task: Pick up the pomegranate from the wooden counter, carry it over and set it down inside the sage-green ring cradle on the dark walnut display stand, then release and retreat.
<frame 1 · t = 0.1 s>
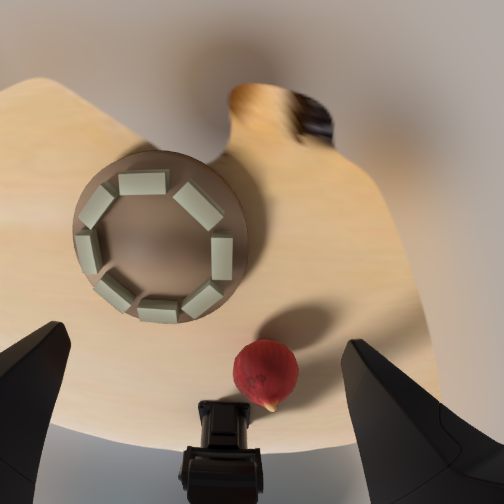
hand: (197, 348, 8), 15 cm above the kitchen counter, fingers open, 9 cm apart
pomegranate: (262, 342, 27), on the kitchen counter
display stand: (159, 238, 22), on the kitchen counter
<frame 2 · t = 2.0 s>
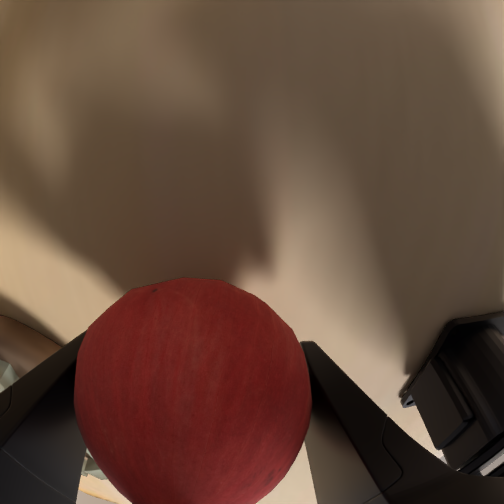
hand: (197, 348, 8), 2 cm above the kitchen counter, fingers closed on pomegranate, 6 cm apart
pomegranate: (204, 303, 10), on the kitchen counter, touching gripper
display stand: (47, 398, 13), on the kitchen counter
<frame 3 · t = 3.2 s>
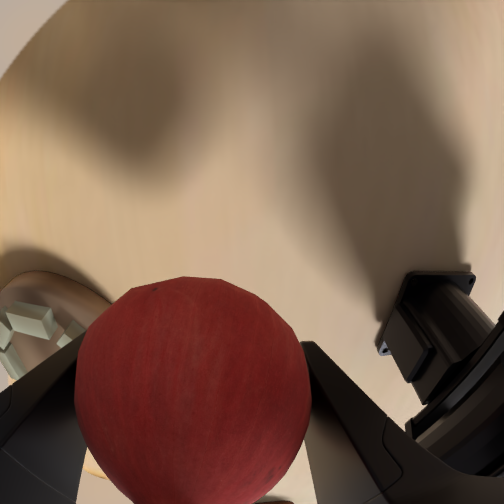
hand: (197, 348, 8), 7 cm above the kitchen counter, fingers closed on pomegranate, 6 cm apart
food container: (280, 502, 38), on the kitchen counter
pomegranate: (204, 302, 10), point 4 cm above the kitchen counter, touching gripper
display stand: (72, 352, 17), on the kitchen counter
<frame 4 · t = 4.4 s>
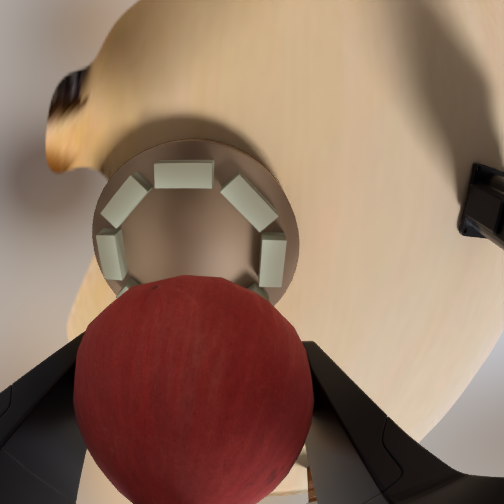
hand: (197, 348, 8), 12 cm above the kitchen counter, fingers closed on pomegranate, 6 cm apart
food container: (334, 464, 41), on the kitchen counter
pomegranate: (204, 301, 10), point 10 cm above the kitchen counter, touching gripper
display stand: (194, 240, 20), on the kitchen counter
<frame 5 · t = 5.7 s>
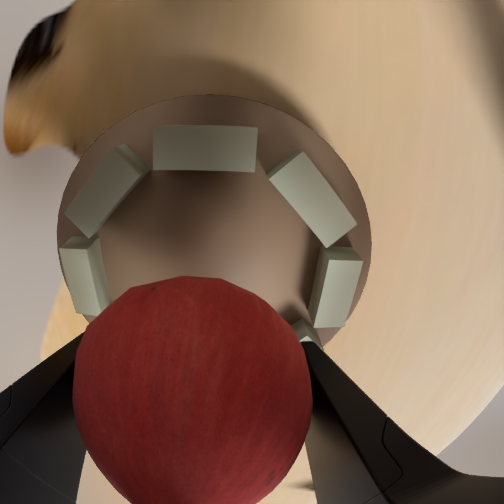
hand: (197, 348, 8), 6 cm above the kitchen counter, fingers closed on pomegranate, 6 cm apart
pomegranate: (203, 302, 10), point 4 cm above the kitchen counter, touching gripper
display stand: (209, 254, 13), on the kitchen counter
when the fingers open (5 cm above the kitchen counter, at t = 6.7 s): pomegranate drops 1 cm, resting on display stand.
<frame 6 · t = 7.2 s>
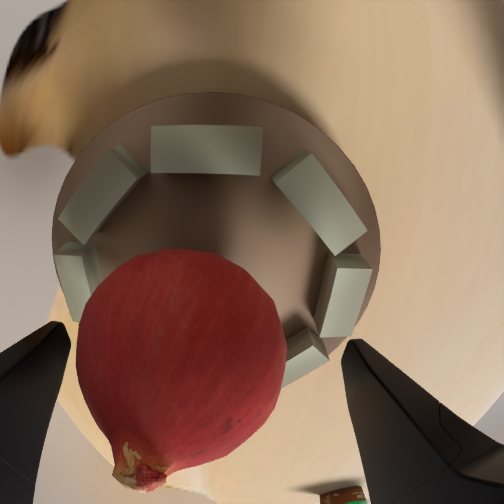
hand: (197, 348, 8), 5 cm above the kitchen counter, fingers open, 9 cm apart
food container: (348, 488, 34), on the kitchen counter
pomegranate: (208, 281, 11), point 2 cm above the kitchen counter, touching display stand
display stand: (211, 260, 13), on the kitchen counter
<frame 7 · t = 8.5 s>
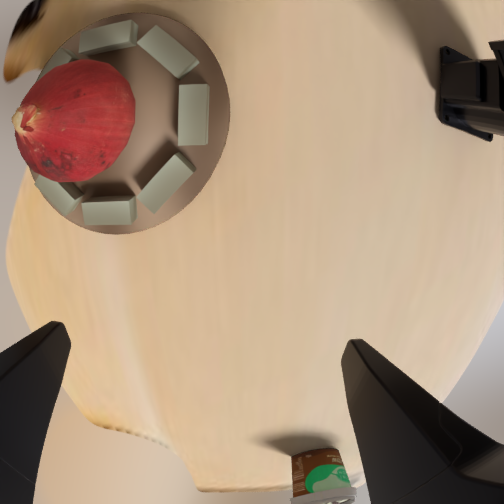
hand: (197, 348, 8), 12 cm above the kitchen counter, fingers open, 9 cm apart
food container: (324, 452, 36), on the kitchen counter
pomegranate: (109, 120, 14), point 2 cm above the kitchen counter, touching display stand
display stand: (121, 121, 15), on the kitchen counter
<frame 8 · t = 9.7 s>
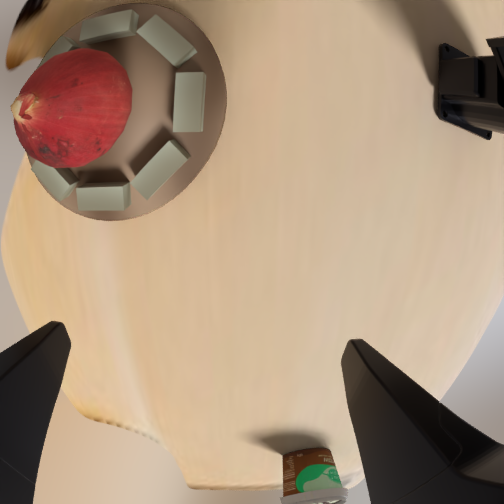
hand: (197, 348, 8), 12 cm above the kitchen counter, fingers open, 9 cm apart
food container: (316, 451, 36), on the kitchen counter
pomegranate: (107, 107, 13), point 2 cm above the kitchen counter, touching display stand
display stand: (118, 109, 15), on the kitchen counter
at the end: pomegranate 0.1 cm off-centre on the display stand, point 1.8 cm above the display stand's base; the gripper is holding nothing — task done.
